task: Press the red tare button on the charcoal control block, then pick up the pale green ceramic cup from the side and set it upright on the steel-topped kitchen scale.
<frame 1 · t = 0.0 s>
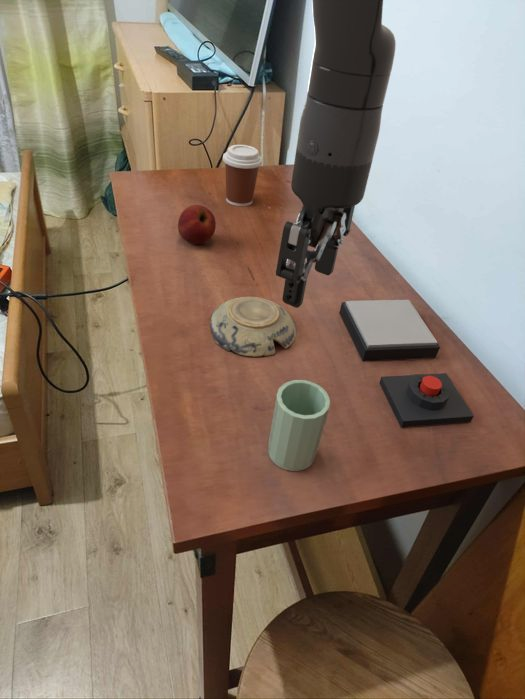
hand: (308, 287, 60), 20 cm above the table, tool pointing down, fingers open, 8 cm apart
scale: (385, 334, 88), on the table
apple: (196, 242, 106), on the table
decorative bowl: (251, 328, 86), on the table
cup: (291, 451, 67), on the table
tare button: (430, 386, 74), point 3 cm above the table, slide at 0.1 cm
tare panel: (423, 402, 76), on the table
coffee cup: (239, 201, 123), on the table
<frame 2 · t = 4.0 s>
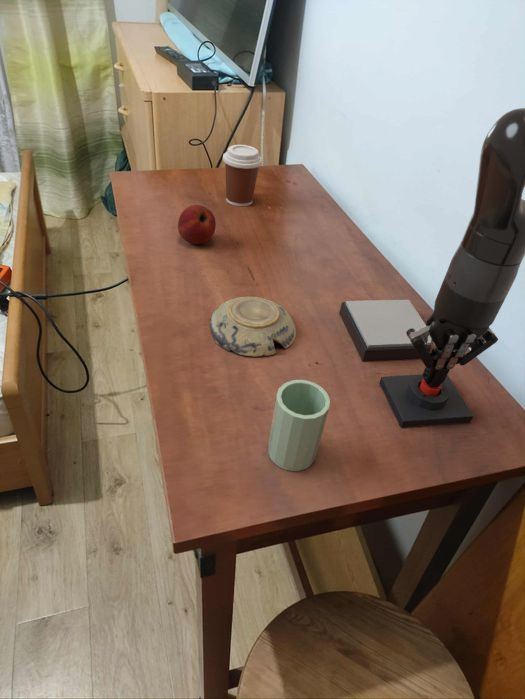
hand: (431, 382, 74), 4 cm above the table, tool pointing down, fingers closed
tare button: (430, 386, 74), point 3 cm above the table, slide at -0.1 cm, touching gripper
everything else where it was.
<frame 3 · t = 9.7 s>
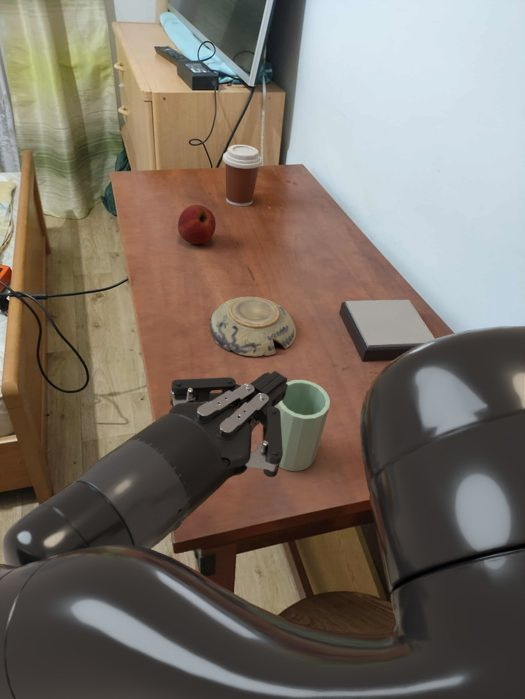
hand: (279, 380, 51), 18 cm above the table, tool horizontal, fingers closed
tare button: (430, 386, 74), point 3 cm above the table, slide at 0.1 cm
everything else where it was.
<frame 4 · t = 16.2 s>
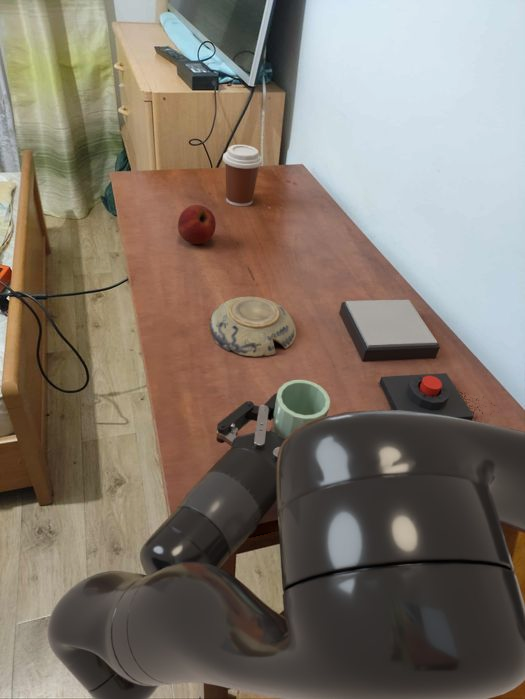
hand: (307, 409, 64), 6 cm above the table, tool horizontal, fingers closed on cup, 6 cm apart
cup: (291, 451, 67), on the table, touching gripper
everything else where it was.
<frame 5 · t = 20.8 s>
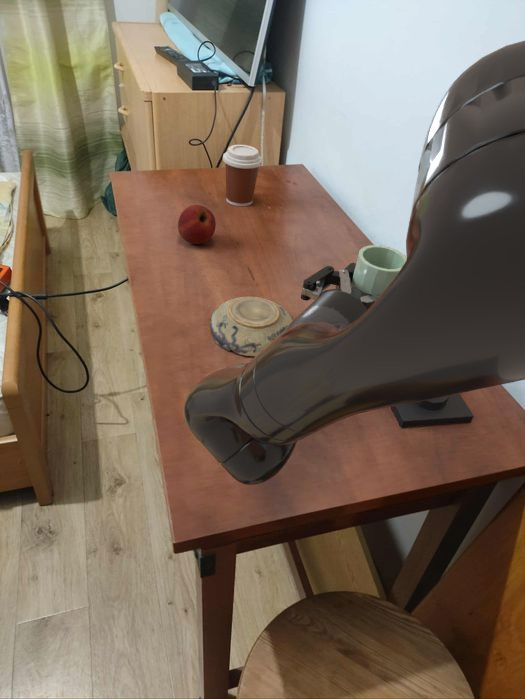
hand: (382, 277, 68), 18 cm above the table, tool horizontal, fingers closed on cup, 6 cm apart
cup: (364, 320, 70), point 12 cm above the table, touching gripper
everything else where it was.
when the fingers open (9 cm above the table, at t = 25.8 s): cup stays where it is, resting on scale.
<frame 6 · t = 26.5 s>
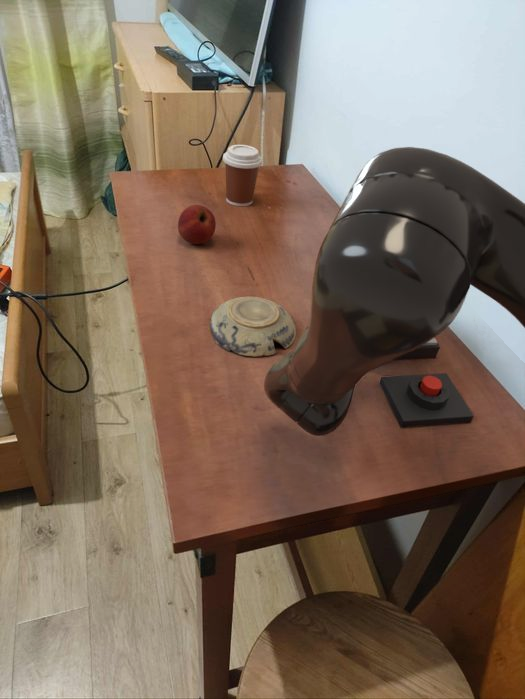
hand: (406, 282, 83), 10 cm above the table, tool horizontal, fingers open, 8 cm apart
cup: (389, 320, 86), point 3 cm above the table, touching scale
everything else where it was.
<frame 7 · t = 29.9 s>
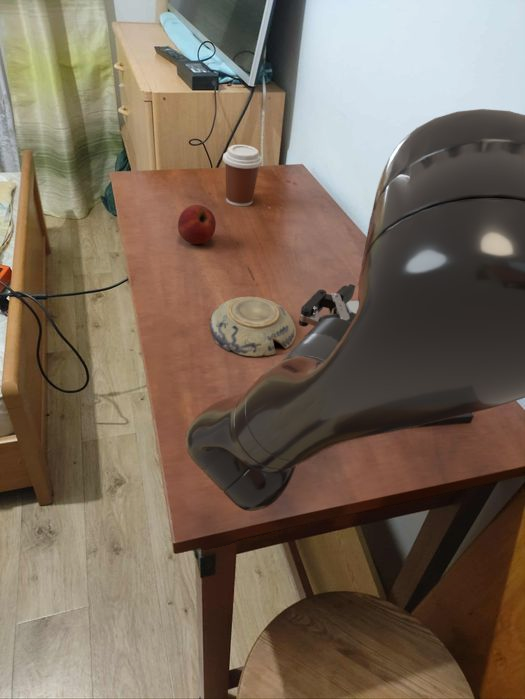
hand: (379, 302, 69), 14 cm above the table, tool horizontal, fingers open, 8 cm apart
nothing on the table moved.
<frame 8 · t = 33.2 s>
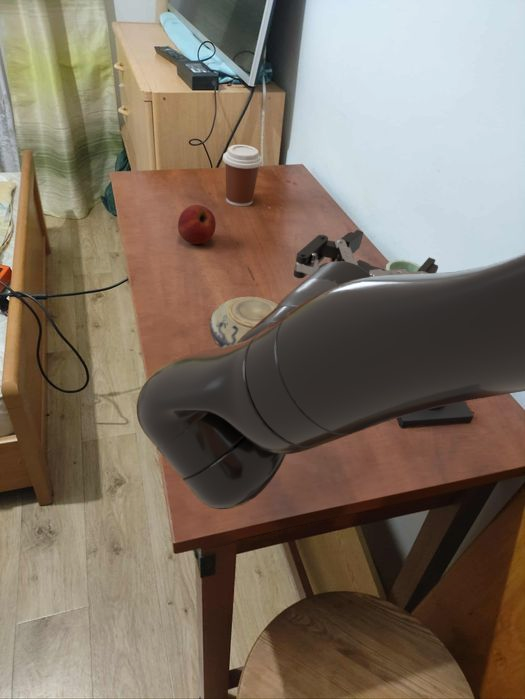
hand: (393, 251, 56), 26 cm above the table, tool horizontal, fingers open, 8 cm apart
nothing on the table moved.
at the end: tare button pushed in 0.9 cm at the most during the clip, back to where it started at the end; cup inside the target area on the scale (0.1 cm from its centre), point 3.0 cm above the scale's base; cup tilted 0° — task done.
